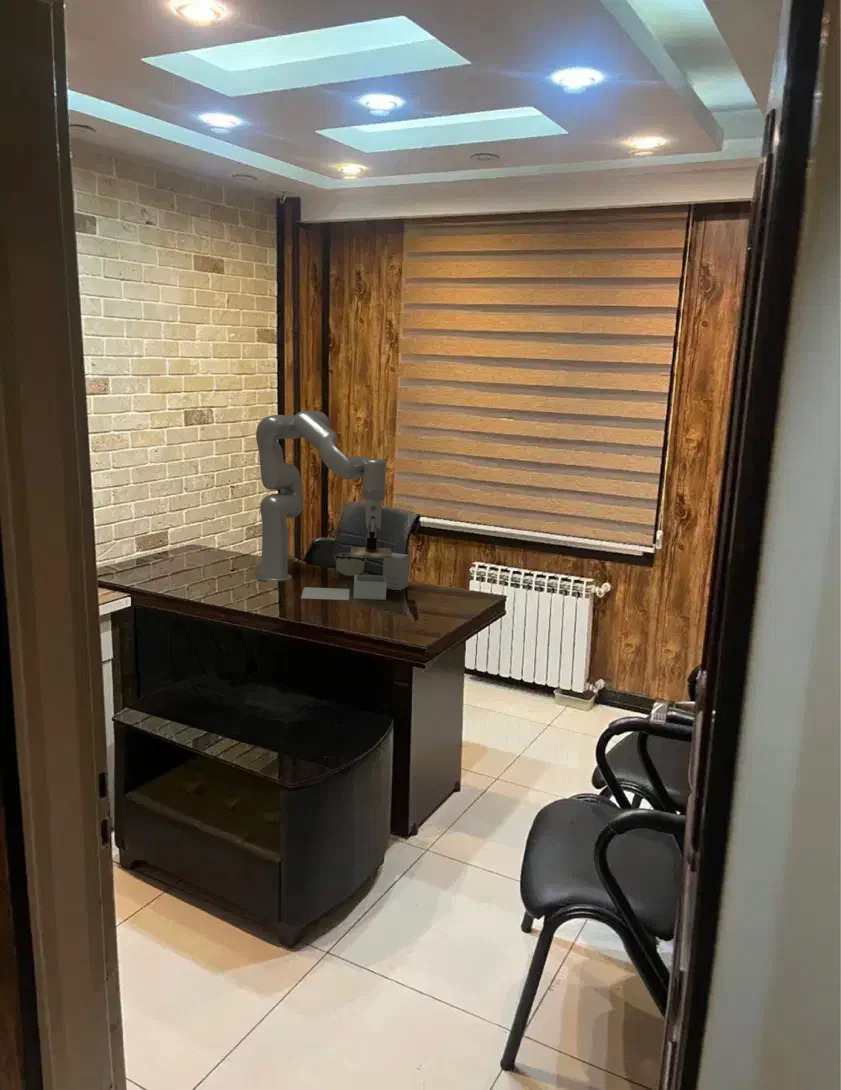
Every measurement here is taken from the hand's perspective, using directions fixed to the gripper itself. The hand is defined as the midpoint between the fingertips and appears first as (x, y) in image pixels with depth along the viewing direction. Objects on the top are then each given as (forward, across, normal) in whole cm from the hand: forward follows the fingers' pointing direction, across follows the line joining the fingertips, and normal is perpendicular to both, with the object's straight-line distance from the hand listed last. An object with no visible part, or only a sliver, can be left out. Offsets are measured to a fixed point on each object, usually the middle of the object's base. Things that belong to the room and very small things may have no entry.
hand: (371, 547), depth 281 cm
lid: (+2, 0, 0) cm, 2 cm away
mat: (+17, 0, +15) cm, 23 cm away
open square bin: (+17, 0, 0) cm, 17 cm away
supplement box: (+18, +14, -10) cm, 24 cm away
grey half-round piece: (+18, +26, +7) cm, 32 cm away
